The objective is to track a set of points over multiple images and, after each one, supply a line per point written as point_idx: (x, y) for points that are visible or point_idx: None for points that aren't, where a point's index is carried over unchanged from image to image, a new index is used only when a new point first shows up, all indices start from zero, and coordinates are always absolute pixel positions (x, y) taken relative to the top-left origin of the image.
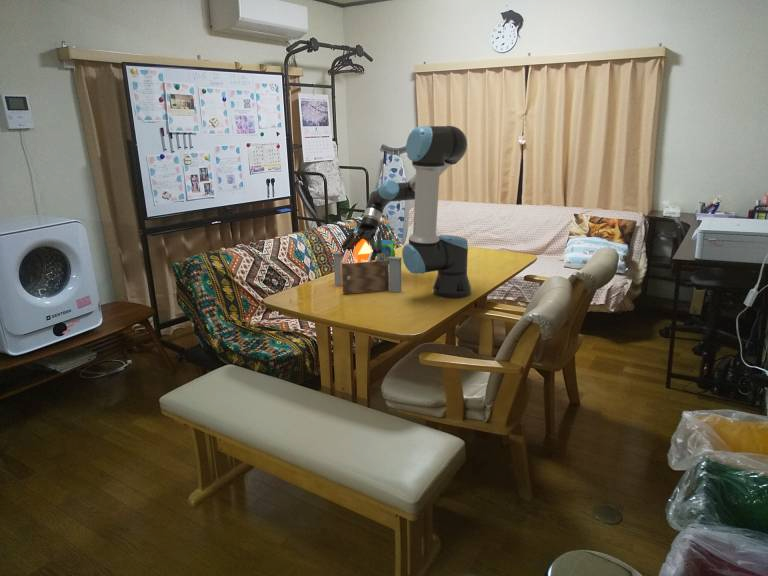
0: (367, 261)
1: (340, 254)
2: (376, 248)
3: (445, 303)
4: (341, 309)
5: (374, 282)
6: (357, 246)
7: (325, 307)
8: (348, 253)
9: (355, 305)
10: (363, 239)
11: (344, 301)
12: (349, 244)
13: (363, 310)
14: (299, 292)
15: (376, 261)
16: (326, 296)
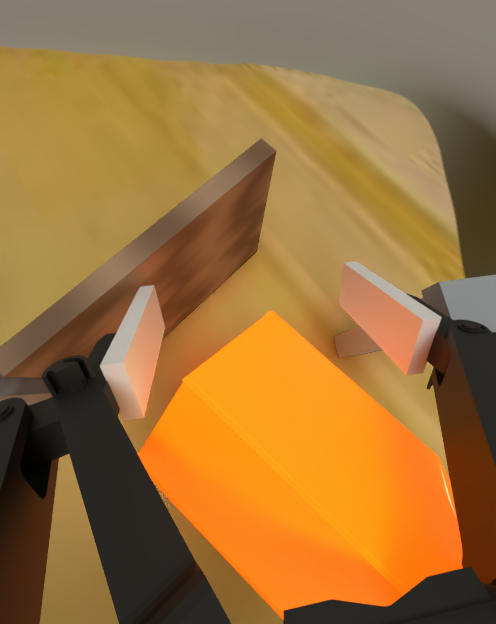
0: (148, 297)
1: (436, 290)
2: None
3: None
4: (158, 124)
5: None
6: (400, 460)
7: (217, 120)
8: (395, 340)
9: (136, 169)
10: (351, 535)
11: (197, 187)
12: (483, 367)
13: (84, 142)
14: (407, 201)
15: (59, 309)
16: (291, 205)
